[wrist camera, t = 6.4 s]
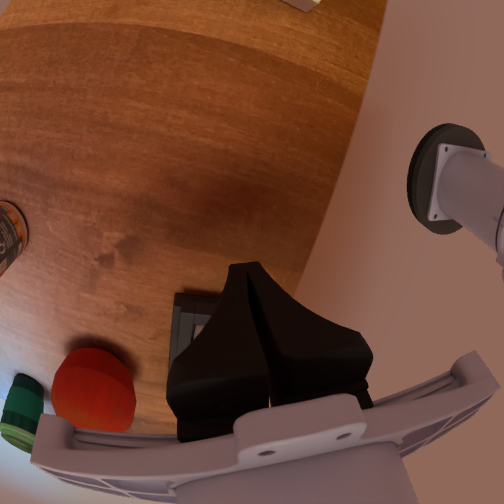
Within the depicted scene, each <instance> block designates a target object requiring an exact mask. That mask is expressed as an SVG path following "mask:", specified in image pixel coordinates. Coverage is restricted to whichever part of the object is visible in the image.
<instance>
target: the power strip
mask: <svg viewBox="0 0 504 504" xmlns="http://www.w3.org/2000/svg"><path fill="white" fill-rule="evenodd" d="M218 302H219V298H210V297H202V296H194V295H186V294H179V293H175V299H174V308H173V318H172V330H171V342H170V356H169V371H170V368H171V365H172V362H173V360H174V359H175V358H176V357H177V356H178V355H179V354H180V353H181V352H182V351H183V350H184V349H186V348H187V347H188V345H189V344H190V343H191V342H192V341H193V339H194V333H195V327H196V324H200V325H205V324H206V323H207V321H208V320H209V318H210V317H211V315H212V313H213V312H214V310H215V308H216V306H217V304H218ZM168 375H169V373H168Z"/></svg>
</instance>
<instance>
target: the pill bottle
mask: <svg viewBox="0 0 504 504" xmlns="http://www.w3.org/2000/svg"><path fill="white" fill-rule="evenodd" d="M26 243H27V229H26V225H25V222H24V219H23V217H22V215H21V214H20V212H19V211H18V210H17V209H16V208H15V207H14V206H13V205H12V204H10V203H8V202H0V277H1V276H2V275H3V274H4V272H5V271H6V270H7V269H8V267H9V266H10V265H11V264H12V263H13V262H14V260H15V259H16V258H17V257H18V256H19V255H20V254H21V252H22V251H23V250H24V248H25V246H26Z"/></svg>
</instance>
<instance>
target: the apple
mask: <svg viewBox="0 0 504 504" xmlns="http://www.w3.org/2000/svg"><path fill="white" fill-rule="evenodd" d="M51 401H52V404H53V407H54V410H55V413H56V416H60V417H63V418H65V419H67V420H68V421H70V422H71V423H72V424H73V425H74V427H78V428H85V429H92V430H100V431H110V432H122V433H124V432H126V431H127V430H128V429H129V428H130V427H131V425H132V422H133V418H134V412H135V407H136V397H135V391H134V385H133V379H132V376H131V373H130V371H129V370H128V369H127V368H126V367H125V366H124V365H123V364H122V363H121V362H120V361H119V360H118V359H117V358H116V357H115V356H114V355H113V354H111V353H110V352H108V351H105V350H103V349H99V348H81V349H78V350H74V351H72V352H71V353H70V354H69V355H68V356H67V357H66V359H65V360H64V361H63V363H62V364H61V366H60V367H59V369H58V370H57V372H56V373H55V377H54V381H53V385H52V389H51Z"/></svg>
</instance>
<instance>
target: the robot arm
mask: <svg viewBox="0 0 504 504" xmlns="http://www.w3.org/2000/svg"><path fill="white" fill-rule="evenodd" d="M445 148H446V149H445ZM434 215H435V216H434ZM427 219H428V220H429V221H437V220H449V219H454V220H455V221H456V222H458V223H459V224H460V225H462V226H463V227H465V228H466V229H467V230H469V231H470V232H471V233H473V234H474V235H475V236H476V237H478V238H479V239H481V240H482V241H483V242H484V243H486V244H487V245H488V246H489V247H490V248H492V249H493V250H494V251H495V252H496V253H498V255H497V259H496V262H497V263H499V264H500V265H501V266H502V267H503V270H502V278H503V281H504V168H503V167H501V166H499V165H497V164H495V163H493V162H491V153H490V152H488V151H484V150H479V149H474V148H468V147H463V146H457V145H451V144H445V143H439V144H438V147H437V155H436V164H435V171H434V178H433V185H432V191H431V197H430V202H429V207H428V213H427ZM372 361H373V353H372V351H371V349H370V348H369V346H368V344H367V343H366V341H365V339H364V338H363V337H362V336H361V334H360V333H359V332H357V331H354V330H352V329H349V328H346V327H343V326H340V325H338V324H335V323H333V322H331V321H329V320H327V319H325V318H323V317H321V316H319V315H317V314H315V313H313V312H312V311H310V310H309V309H307V308H306V307H304V306H303V305H301V304H300V303H298V302H297V301H296V300H295V299H293V298H292V297H291V296H290V295H289V294H288V293H286V292H285V291H284V290H283V289H282V288H281V287H280V286H279V285H278V284H277V283H276V282H275V281H274V280H273V279H272V278H271V276H270V275H269V274H268V273H267V272H266V271H265V269H264V268H263V267H262V265H261V264H260V263H259V262H258V261H256V262H247V263H238V264H231V265H230V266H229V271H228V277H227V280H226V284H225V287H224V290H223V292H222V295H221V297H220V299H219V302H218V304H217V306H216V308H215V310H214V312H213V313H212V315H211V317H210V318H209V320H208V321H207V323H206V324H205V326H204V327H203V329H202V330H201V331H200V333H199V334H198V335H197V336H196V337H195V339H194V340H193V341H192V342H191V343H190V344H189V345H188V347H187V348H186V349H184V350H183V351H182V352H181V353H180V354H179V355H178V356H177V357H176V358H175V359H174V360H173V362H172V365H171V368H170V371H169V375H168V380H167V390H166V399H167V403H168V405H169V406H170V408H171V410H172V411H173V413H174V415H175V416H176V418H177V434H138V433H122V432H110V431H100V430H92V429H85V428H78V427H74V425H73V424H72V423H71V422H70V421H68V420H67V419H65V418H63V417H60V416H55V415H49V414H44V413H42V414H41V416H40V419H39V423H38V427H37V431H36V435H35V440H34V444H33V449H32V454H31V460H30V462H31V464H33V465H34V466H36V467H38V468H39V469H41V470H43V471H45V472H46V473H48V474H49V475H51V476H53V477H55V478H57V479H59V480H60V481H62V482H64V483H67V484H71V485H74V486H78V487H82V488H86V489H90V490H94V491H99V492H103V493H107V494H112V495H117V496H122V497H128V498H133V499H139V500H147V501H154V502H163V503H174V504H419V502H418V499H417V497H416V494H415V492H414V489H413V486H412V484H411V481H410V479H409V476H408V474H407V471H406V469H405V466H404V464H403V461H402V458H404V457H406V456H408V455H410V454H411V453H413V452H415V451H417V450H419V449H421V448H423V447H424V446H426V445H428V444H430V443H431V442H433V441H435V440H436V439H438V438H440V437H441V436H443V435H445V434H446V433H448V432H449V431H451V430H453V429H454V428H456V427H457V426H459V425H460V424H462V423H464V422H465V421H467V420H468V419H470V418H471V417H473V416H474V415H475V414H476V413H477V412H478V411H479V410H480V409H481V408H482V407H483V406H484V405H485V404H486V403H487V402H488V401H489V400H490V398H491V397H492V396H493V395H494V394H495V393H496V392H497V391H498V389H499V388H500V385H499V384H498V382H497V381H496V379H495V378H494V376H493V375H492V373H491V372H490V370H489V369H488V367H487V366H486V364H485V363H484V362H483V360H482V359H481V357H480V356H479V355H478V354H477V352H476V351H475V350H474V351H472V352H470V353H468V354H466V355H464V356H462V357H460V358H459V359H458V360H457V361H456V362H455V363H454V364H453V366H452V367H451V370H450V371H448V372H445V373H443V374H441V375H439V376H437V377H435V378H432V379H430V380H428V381H426V382H423V383H421V384H418V385H416V386H414V387H411V388H409V389H406V390H403V391H401V392H398V393H396V394H393V395H390V396H387V397H384V398H381V399H379V400H376V401H373V402H372V400H371V398H370V395H369V393H368V391H367V389H368V387H369V386H368V383H367V381H366V379H365V378H366V375H367V373H368V371H369V369H370V367H371V364H372ZM269 398H270V404H271V407H270V408H269Z"/></svg>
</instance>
